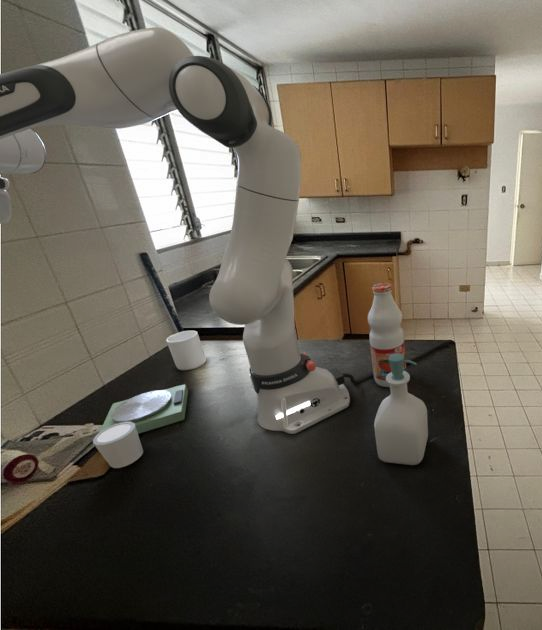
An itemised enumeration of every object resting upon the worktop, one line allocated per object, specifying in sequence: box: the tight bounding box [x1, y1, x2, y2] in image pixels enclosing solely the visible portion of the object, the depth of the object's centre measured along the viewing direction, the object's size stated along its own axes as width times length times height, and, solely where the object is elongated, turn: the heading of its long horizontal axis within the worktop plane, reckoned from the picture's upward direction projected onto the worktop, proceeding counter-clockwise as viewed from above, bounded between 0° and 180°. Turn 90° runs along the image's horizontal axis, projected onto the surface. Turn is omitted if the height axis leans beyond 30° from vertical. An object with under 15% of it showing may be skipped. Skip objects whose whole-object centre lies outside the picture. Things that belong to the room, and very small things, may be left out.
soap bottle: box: [373, 354, 429, 466], centre depth 66 cm, size 10×10×23 cm
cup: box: [165, 330, 207, 371], centre depth 107 cm, size 8×12×10 cm
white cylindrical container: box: [92, 422, 144, 469], centre depth 71 cm, size 7×7×7 cm
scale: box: [98, 383, 189, 435], centre depth 85 cm, size 16×14×3 cm
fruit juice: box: [367, 282, 408, 388], centre depth 90 cm, size 9×9×28 cm
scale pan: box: [111, 389, 172, 423], centre depth 84 cm, size 12×12×1 cm
